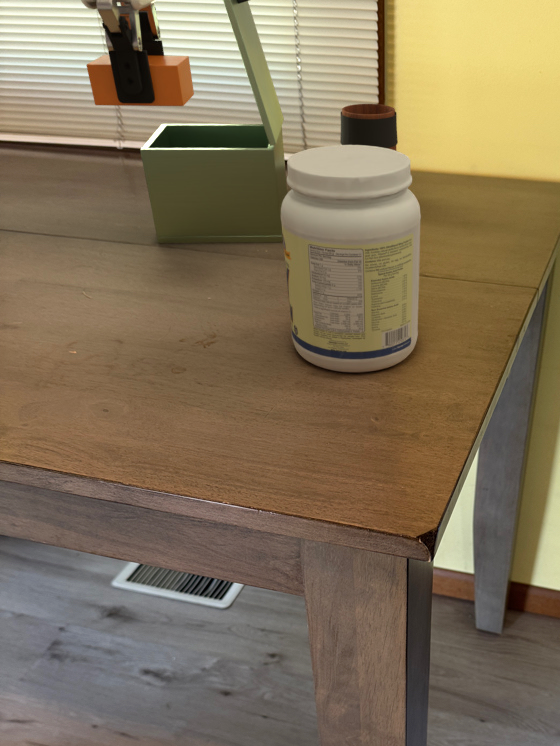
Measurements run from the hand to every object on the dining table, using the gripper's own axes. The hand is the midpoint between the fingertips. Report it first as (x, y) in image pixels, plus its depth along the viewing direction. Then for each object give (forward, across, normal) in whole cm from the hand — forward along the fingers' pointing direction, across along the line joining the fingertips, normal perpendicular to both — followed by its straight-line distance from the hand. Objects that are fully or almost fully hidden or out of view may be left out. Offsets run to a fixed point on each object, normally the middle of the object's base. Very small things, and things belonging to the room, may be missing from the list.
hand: (144, 93), depth 71 cm
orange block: (0, 0, 0) cm, 0 cm away
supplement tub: (+19, +13, +19) cm, 30 cm away
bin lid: (0, -23, +7) cm, 24 cm away
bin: (+19, -23, +2) cm, 30 cm away
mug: (+19, -37, +20) cm, 46 cm away
